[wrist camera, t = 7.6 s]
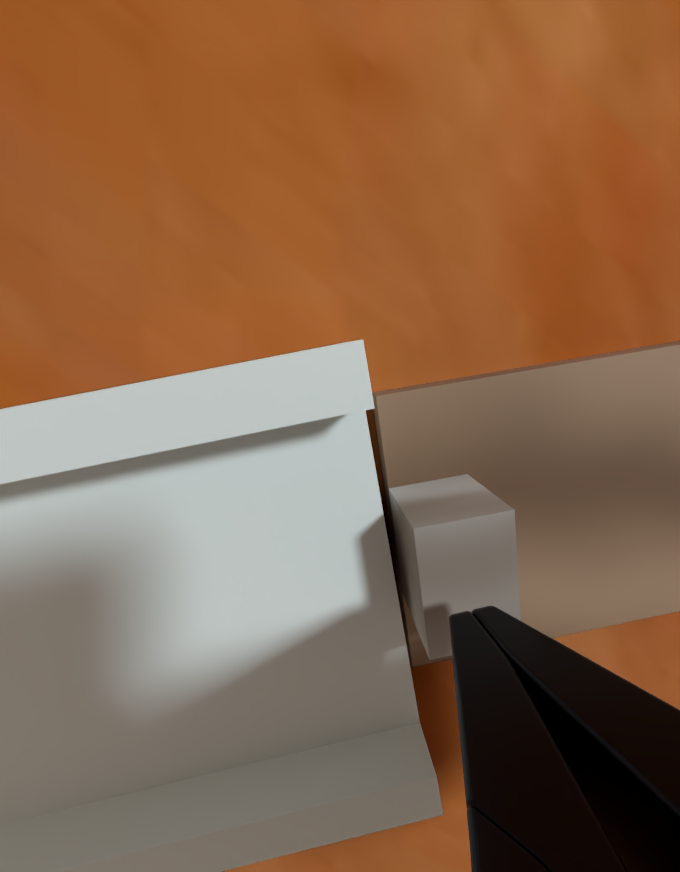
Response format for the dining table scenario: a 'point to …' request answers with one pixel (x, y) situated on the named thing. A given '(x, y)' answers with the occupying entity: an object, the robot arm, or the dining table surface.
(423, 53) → the dining table surface
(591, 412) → the cover plate
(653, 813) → the robot arm
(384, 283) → the dining table surface
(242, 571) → the open box
